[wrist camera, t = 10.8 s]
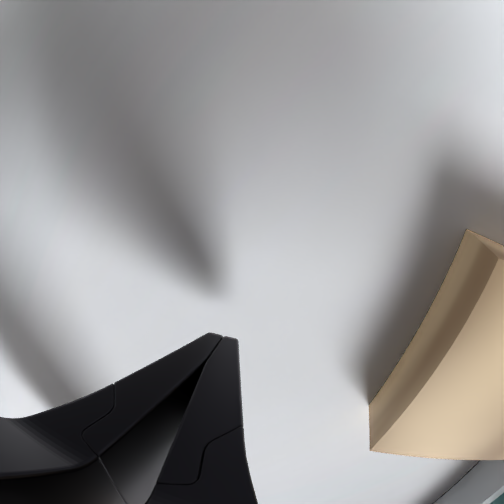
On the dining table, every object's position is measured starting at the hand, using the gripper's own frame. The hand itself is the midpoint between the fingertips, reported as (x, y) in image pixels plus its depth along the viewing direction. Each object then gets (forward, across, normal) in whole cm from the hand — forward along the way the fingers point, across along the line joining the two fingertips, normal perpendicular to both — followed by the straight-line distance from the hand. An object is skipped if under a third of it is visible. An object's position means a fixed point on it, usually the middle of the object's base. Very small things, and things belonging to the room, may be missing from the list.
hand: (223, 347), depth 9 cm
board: (+2, -10, 0) cm, 11 cm away
